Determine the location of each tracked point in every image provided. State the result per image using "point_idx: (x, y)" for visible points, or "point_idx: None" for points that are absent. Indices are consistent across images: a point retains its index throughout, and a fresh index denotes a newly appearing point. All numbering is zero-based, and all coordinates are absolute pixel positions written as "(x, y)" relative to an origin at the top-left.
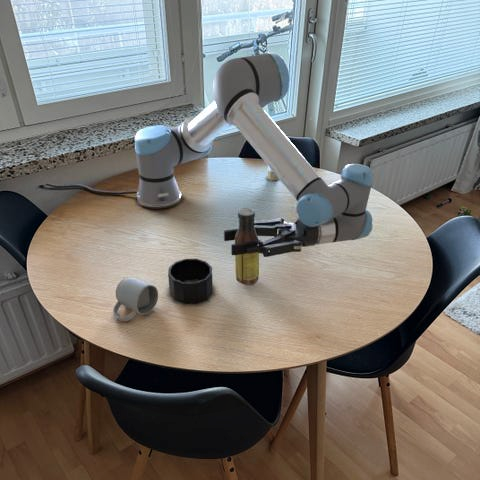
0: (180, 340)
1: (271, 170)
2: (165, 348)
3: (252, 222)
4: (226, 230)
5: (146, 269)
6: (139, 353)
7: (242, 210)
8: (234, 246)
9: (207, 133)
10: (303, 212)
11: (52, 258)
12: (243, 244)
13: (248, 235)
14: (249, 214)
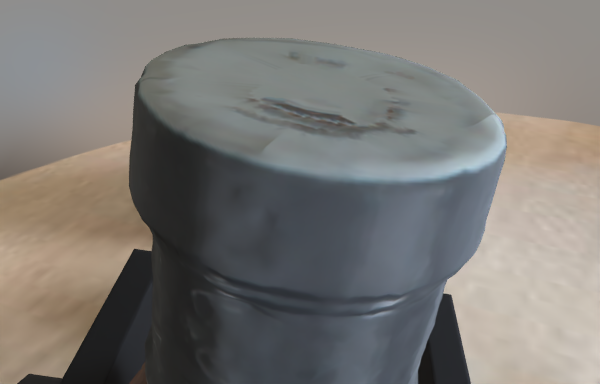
0: (14, 243)
1: None
2: (18, 207)
3: (161, 291)
4: (448, 312)
5: (488, 274)
6: (57, 166)
7: (397, 76)
8: (126, 270)
9: None
10: None
11: (556, 138)
12: (87, 336)
13: (141, 378)
14: (169, 69)
